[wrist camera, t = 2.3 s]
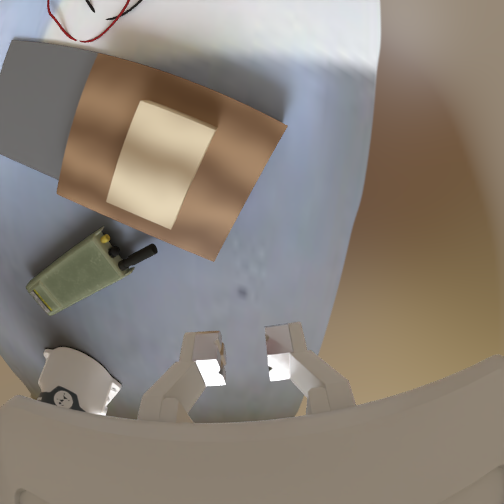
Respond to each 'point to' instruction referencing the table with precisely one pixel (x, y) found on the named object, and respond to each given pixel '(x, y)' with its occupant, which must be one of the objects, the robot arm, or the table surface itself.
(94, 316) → the table surface
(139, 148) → the tile
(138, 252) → the handheld radio
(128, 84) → the platform
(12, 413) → the robot arm
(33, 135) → the mat
